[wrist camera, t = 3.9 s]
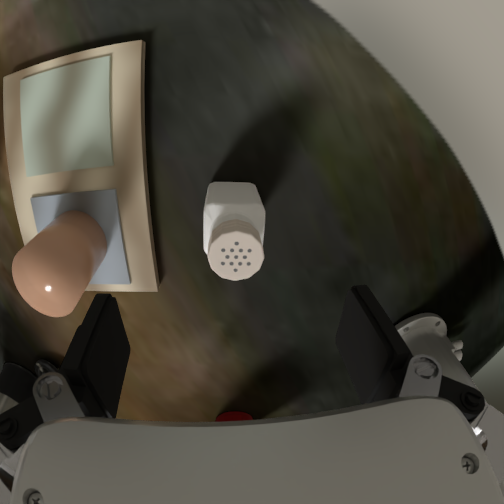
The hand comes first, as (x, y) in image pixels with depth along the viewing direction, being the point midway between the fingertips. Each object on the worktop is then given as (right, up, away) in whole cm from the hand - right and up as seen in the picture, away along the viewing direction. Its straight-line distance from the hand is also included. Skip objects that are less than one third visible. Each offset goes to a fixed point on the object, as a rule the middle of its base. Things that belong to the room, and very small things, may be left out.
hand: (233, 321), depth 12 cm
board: (-15, +9, +11) cm, 21 cm away
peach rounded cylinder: (-15, +4, +12) cm, 20 cm away
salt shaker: (-1, +7, +14) cm, 16 cm away
